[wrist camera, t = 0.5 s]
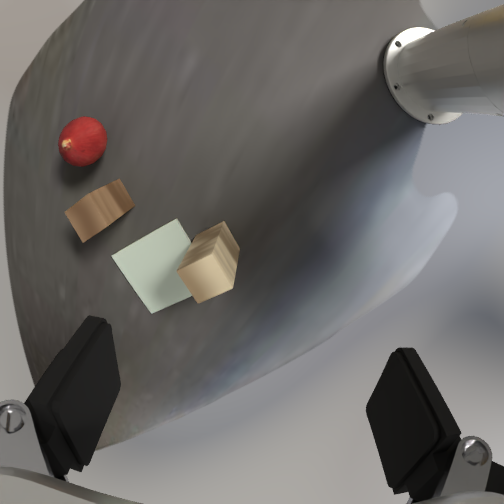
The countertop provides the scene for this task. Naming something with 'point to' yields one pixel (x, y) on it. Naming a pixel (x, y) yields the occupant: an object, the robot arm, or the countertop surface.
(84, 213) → the walnut block
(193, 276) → the maple block
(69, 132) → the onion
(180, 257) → the mat
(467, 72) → the robot arm
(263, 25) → the countertop surface
